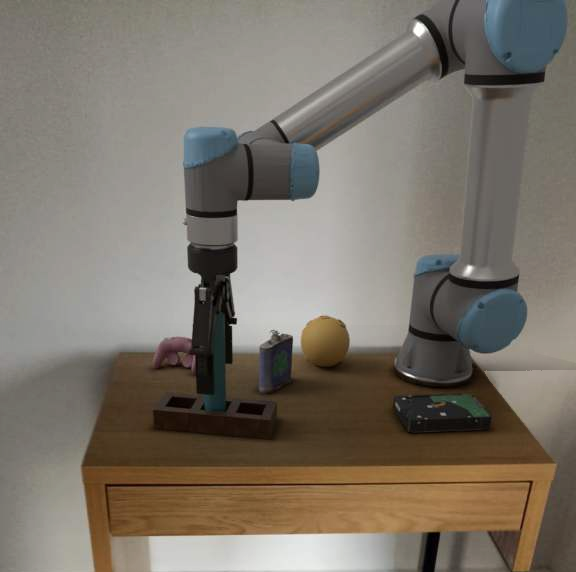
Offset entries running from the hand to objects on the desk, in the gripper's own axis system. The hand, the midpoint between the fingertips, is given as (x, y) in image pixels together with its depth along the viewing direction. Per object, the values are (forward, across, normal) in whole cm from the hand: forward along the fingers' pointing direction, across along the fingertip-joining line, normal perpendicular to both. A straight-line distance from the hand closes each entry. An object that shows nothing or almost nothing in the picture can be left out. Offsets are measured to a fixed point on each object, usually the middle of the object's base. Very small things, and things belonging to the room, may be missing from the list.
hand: (215, 377), depth 123 cm
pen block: (+8, 0, 0) cm, 8 cm away
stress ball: (+9, -32, +15) cm, 36 cm away
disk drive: (+9, -10, +38) cm, 40 cm away
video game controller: (+9, -24, -13) cm, 29 cm away
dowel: (+8, 0, 0) cm, 8 cm away
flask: (+9, -19, +7) cm, 22 cm away
